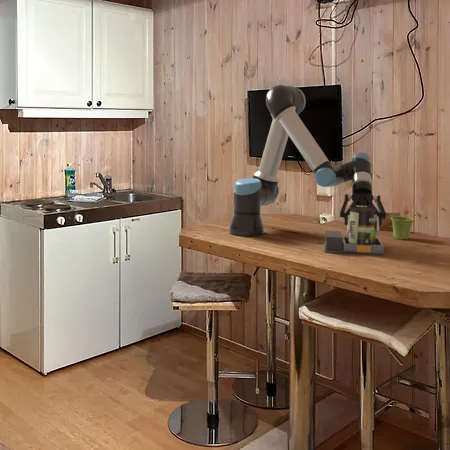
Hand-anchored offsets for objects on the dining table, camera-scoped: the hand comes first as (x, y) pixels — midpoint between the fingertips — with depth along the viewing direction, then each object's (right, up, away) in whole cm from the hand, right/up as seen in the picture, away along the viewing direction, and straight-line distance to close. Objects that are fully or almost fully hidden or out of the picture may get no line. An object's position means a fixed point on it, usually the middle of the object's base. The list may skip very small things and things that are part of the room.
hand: (363, 231), depth 221 cm
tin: (+22, 0, +48) cm, 53 cm away
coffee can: (0, -5, +4) cm, 6 cm away
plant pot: (+23, -3, +29) cm, 37 cm away
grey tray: (-3, -7, +5) cm, 9 cm away
